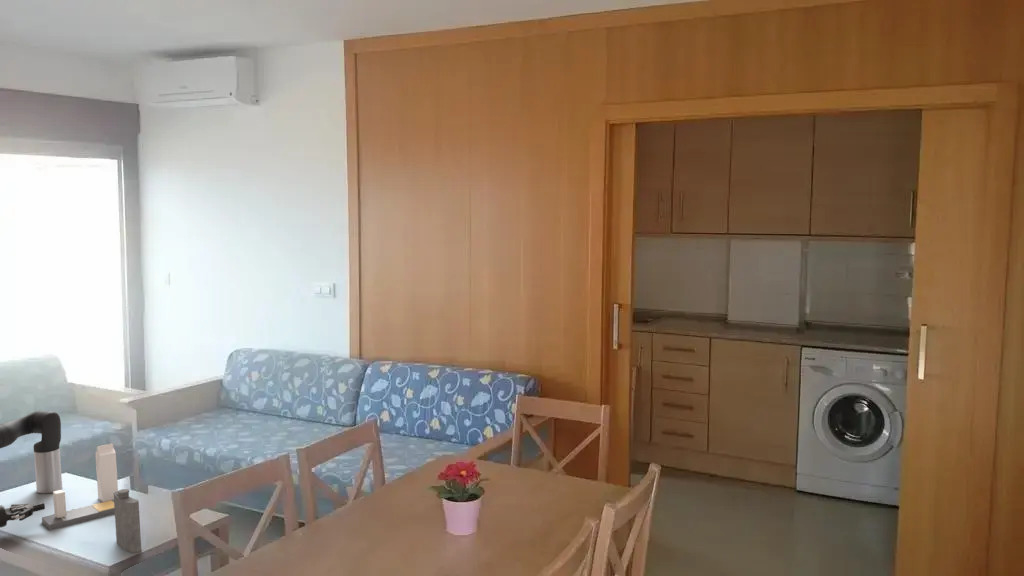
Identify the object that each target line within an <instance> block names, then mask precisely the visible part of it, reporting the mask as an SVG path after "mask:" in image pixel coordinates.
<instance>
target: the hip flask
mask: <svg viewBox="0 0 1024 576" xmlns="http://www.w3.org/2000/svg"><path fill="white" fill-rule="evenodd" d="M113 500H114V508H115V513H114V520H115V537H116V544H117V545H118V546H119V547H120V548H121V549H123V550H125V551H127V552H129V553H131V554H137V553H140V552H141V551H142V537H141V522H140V521H141V520H140V504H139V499H136V498H133V497H131V496H130V489H129V488H123V489H118V491H116V492H114V499H113Z"/></svg>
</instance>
